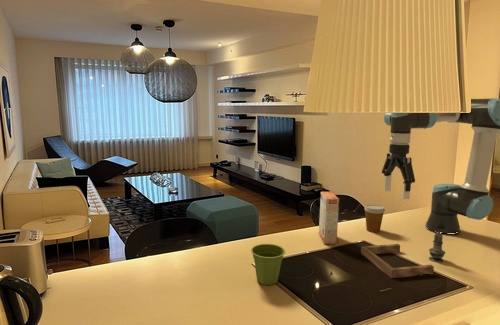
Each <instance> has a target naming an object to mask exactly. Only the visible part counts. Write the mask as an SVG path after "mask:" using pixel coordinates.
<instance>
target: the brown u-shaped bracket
mask: <svg viewBox="0 0 500 325" xmlns="http://www.w3.org/2000/svg"><path fill="white" fill-rule="evenodd" d="M390 253H392V254H393V253H401V244H399V243H393V244H391V243H390V244H378V245H377V244H376V245H363V246H361V247H360V254H361V255H362V256H363V257H365V258H366V259H367V260H369V261H370V262H371V263H372V264H373V265H374V266H376V267H377V268H378V269H379V270H380V271H382V272H383V273H384V274H386V275H387V276H388V277H389V278H390V279H395V278H396V279H397V278H406V277H415V276H417V275H419V276H424V275H423V274H430V275H434V270H435V269H434V268H435V266H434V265H433V264H425V265H424V264H423V265H414V266H413V265H412V266H402V267H393V266H391V265H390V264H389V263H388V262H386V261H385V260H383V258H380V257H379V256H378V254H390ZM417 277H418V276H417Z"/></svg>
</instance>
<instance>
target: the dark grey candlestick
mask: <svg viewBox="0 0 500 325" xmlns="http://www.w3.org/2000/svg"><path fill="white" fill-rule="evenodd" d="M443 235H444V234H440V232H439V231H438V233H436V232H435V233H434V238H433V241H432V244H433V246H432V247H431V248H429V249H428V251H429V254H430V257H429V258H428V260H430V261H432V262H435V263H439V262H441V263H444V262H443V260H444V259H443V258H444V256H445V254H446V251H445V250H443V244H444V241H443V237H444V236H443Z"/></svg>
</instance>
